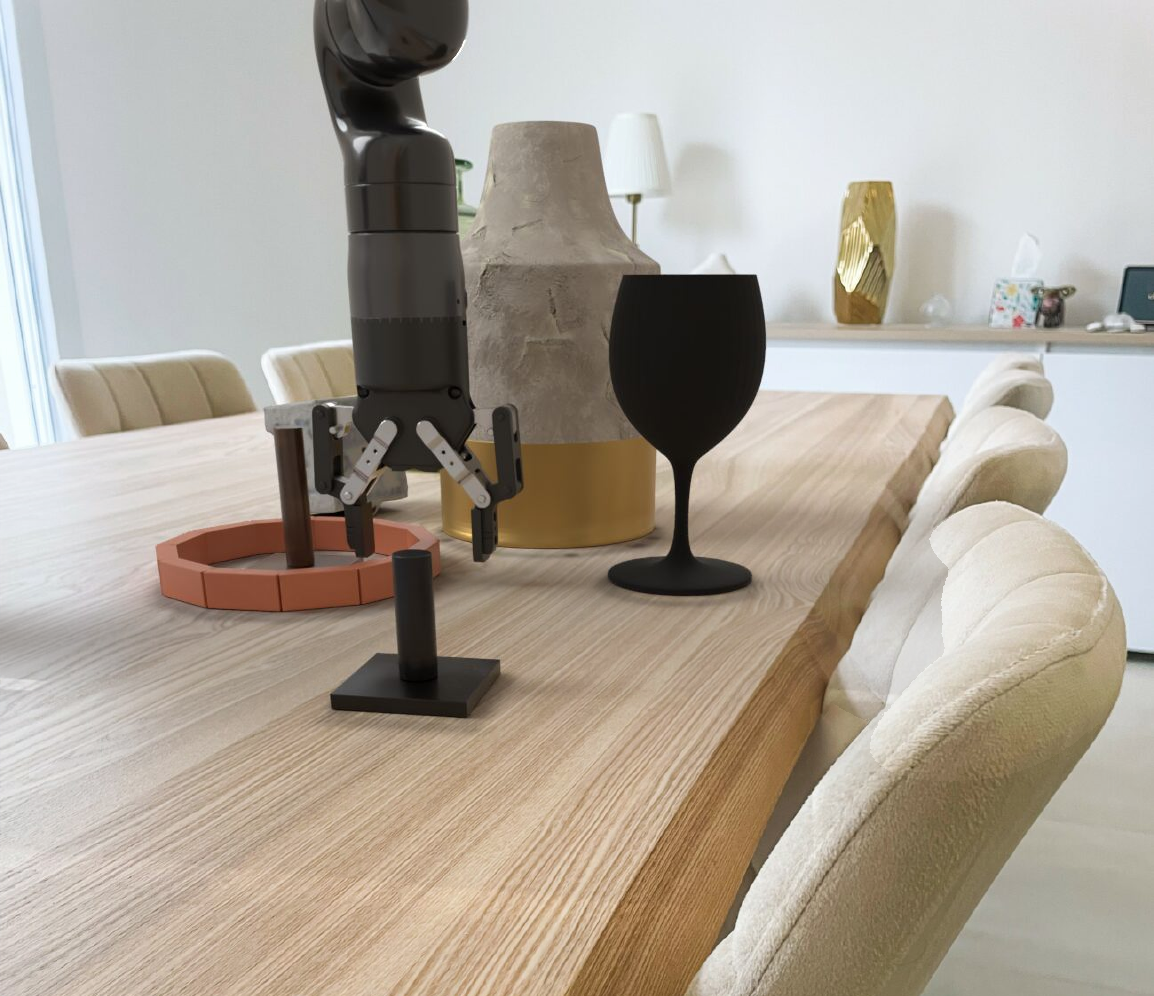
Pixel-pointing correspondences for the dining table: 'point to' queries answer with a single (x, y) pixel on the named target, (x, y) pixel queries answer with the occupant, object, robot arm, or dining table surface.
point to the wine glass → (685, 397)
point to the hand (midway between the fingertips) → (423, 558)
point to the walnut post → (296, 508)
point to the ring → (283, 588)
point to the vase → (552, 343)
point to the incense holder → (354, 445)
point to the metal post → (416, 657)
